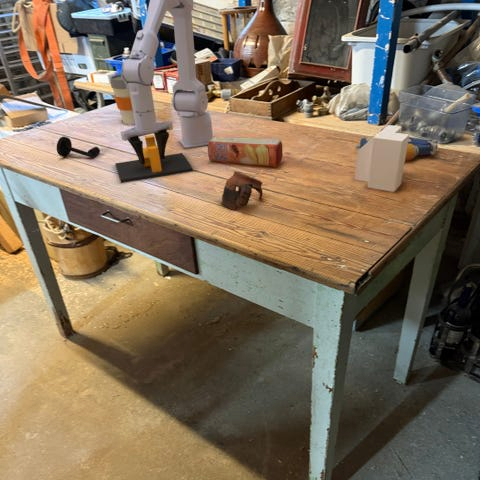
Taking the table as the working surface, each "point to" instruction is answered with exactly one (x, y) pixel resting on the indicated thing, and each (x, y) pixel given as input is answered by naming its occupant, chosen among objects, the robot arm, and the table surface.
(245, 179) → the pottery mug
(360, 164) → the corner bracket
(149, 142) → the pipe clamp
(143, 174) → the mat
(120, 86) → the reusable coffee cup
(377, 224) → the table surface
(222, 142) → the snack package
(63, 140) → the light fixture
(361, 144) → the spray gun
